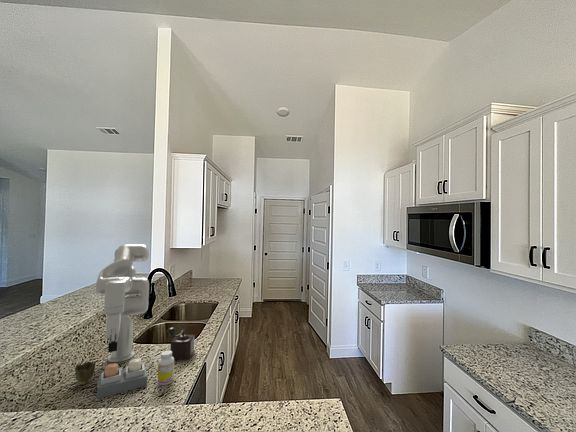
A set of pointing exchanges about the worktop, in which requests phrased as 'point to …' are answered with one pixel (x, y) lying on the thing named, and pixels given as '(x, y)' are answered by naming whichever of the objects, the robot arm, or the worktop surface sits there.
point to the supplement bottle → (166, 368)
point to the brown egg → (111, 370)
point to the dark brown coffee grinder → (181, 344)
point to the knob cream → (135, 365)
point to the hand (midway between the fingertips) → (112, 350)
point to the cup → (84, 372)
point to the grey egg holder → (121, 381)
